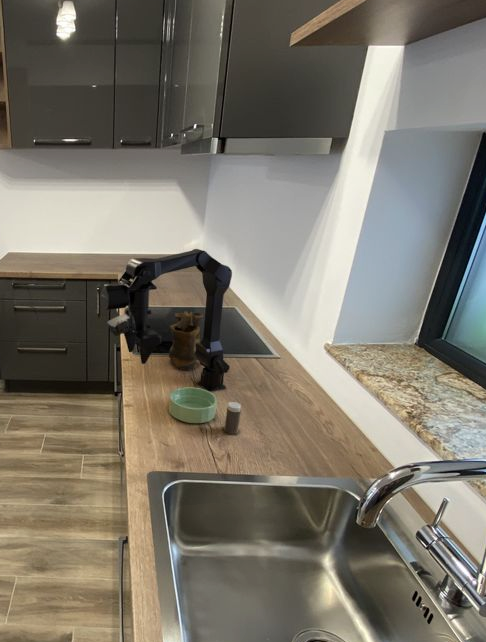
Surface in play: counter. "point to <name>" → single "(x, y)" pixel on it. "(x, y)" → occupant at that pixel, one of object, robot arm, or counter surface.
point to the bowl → (192, 405)
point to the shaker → (232, 418)
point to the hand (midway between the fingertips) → (136, 357)
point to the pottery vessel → (185, 340)
